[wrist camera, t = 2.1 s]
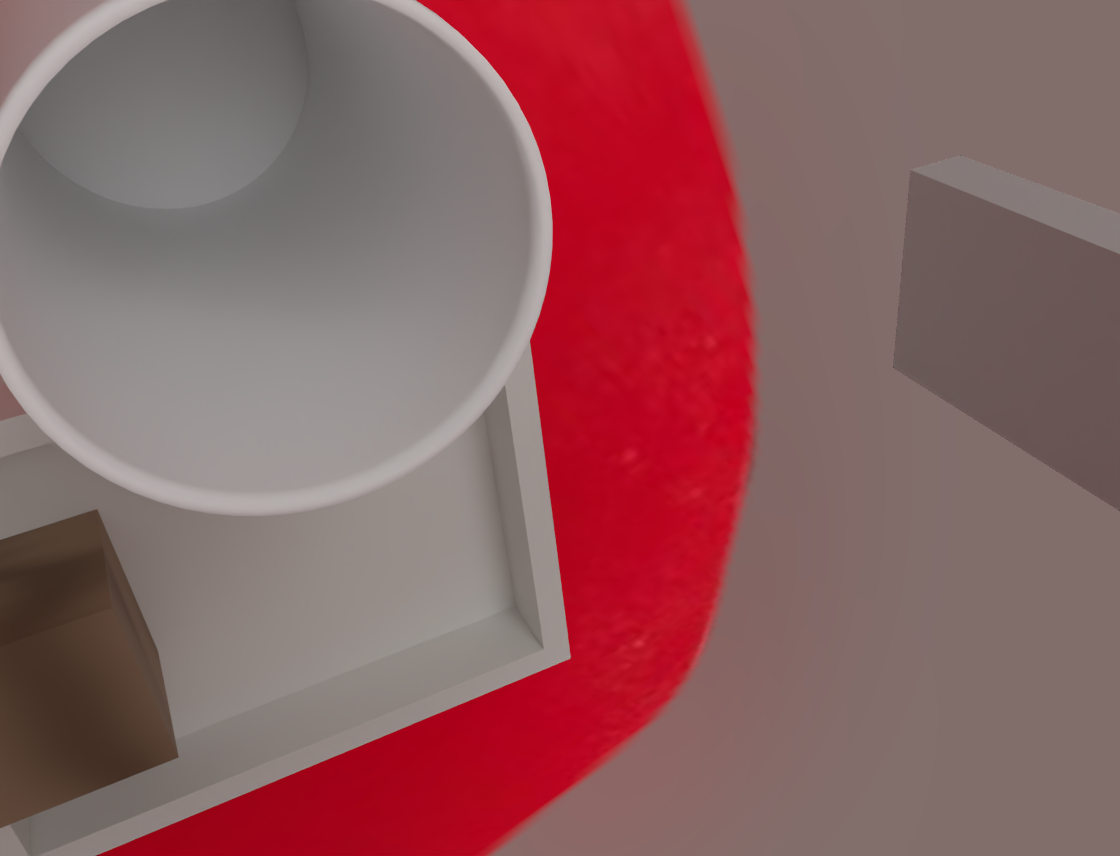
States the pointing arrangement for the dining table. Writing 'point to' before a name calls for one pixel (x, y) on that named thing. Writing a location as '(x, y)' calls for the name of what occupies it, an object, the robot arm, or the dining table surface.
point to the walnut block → (73, 670)
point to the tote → (308, 611)
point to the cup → (260, 242)
